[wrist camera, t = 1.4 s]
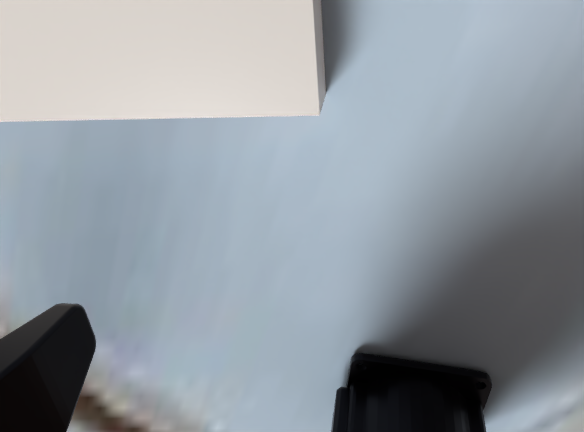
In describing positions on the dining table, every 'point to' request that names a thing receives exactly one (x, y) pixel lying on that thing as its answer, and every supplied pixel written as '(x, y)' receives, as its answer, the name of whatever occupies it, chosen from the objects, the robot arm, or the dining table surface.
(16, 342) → the robot arm
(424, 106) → the dining table surface
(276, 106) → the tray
